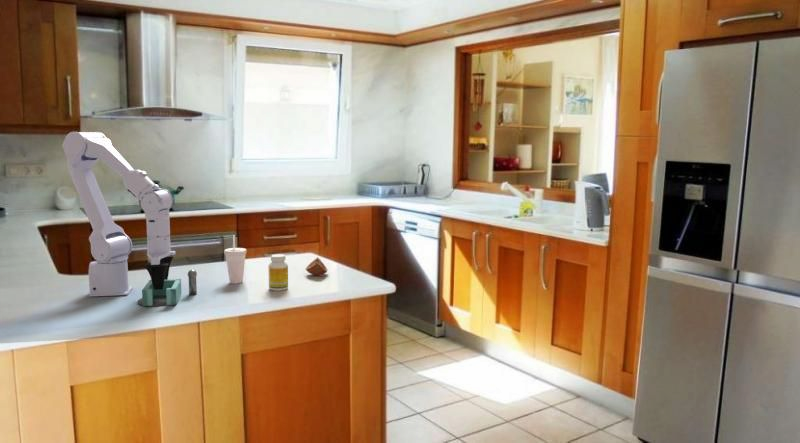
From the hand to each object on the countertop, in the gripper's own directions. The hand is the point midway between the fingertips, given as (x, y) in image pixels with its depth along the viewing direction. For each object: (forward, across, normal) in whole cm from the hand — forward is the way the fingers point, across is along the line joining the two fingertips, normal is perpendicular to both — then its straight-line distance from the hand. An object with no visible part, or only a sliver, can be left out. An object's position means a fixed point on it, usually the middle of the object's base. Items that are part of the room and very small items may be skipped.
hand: (160, 285), depth 169 cm
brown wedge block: (+3, +18, -43) cm, 47 cm away
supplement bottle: (+3, +3, -31) cm, 31 cm away
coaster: (+3, -5, 0) cm, 6 cm away
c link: (+2, -5, -1) cm, 6 cm away
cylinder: (+3, +1, -8) cm, 9 cm away
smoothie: (+3, +13, -19) cm, 23 cm away
